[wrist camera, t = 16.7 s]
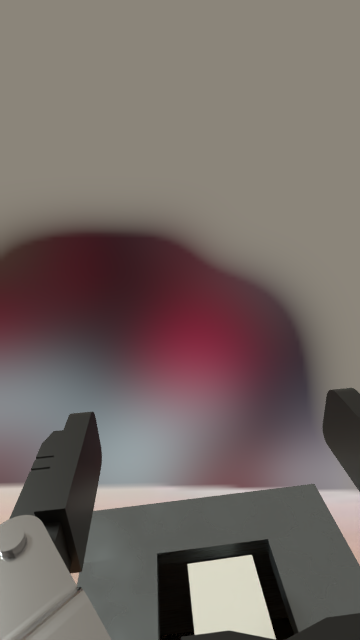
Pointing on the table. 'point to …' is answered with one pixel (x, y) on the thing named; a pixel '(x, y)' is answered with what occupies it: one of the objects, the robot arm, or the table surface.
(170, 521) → the box
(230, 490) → the table surface
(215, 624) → the tall white rectangular block
